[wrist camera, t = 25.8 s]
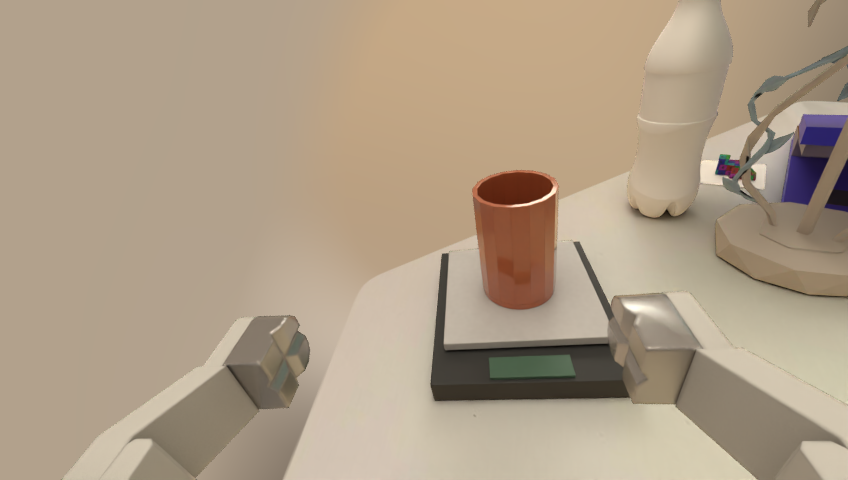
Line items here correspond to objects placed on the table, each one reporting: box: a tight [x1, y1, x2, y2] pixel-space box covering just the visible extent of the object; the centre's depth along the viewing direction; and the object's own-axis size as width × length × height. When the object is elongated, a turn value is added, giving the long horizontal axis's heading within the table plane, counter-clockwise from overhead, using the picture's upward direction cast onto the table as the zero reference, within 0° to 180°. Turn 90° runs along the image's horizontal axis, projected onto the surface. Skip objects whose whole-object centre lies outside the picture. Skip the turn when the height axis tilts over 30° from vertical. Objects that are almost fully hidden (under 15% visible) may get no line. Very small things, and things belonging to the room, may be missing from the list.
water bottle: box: [627, 0, 733, 218], centre depth 38 cm, size 7×7×25 cm
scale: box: [431, 240, 630, 400], centre depth 33 cm, size 15×17×3 cm
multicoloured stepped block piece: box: [714, 154, 757, 182], centre depth 47 cm, size 4×3×2 cm, turn 52°
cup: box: [472, 170, 559, 310], centre depth 30 cm, size 6×6×10 cm
